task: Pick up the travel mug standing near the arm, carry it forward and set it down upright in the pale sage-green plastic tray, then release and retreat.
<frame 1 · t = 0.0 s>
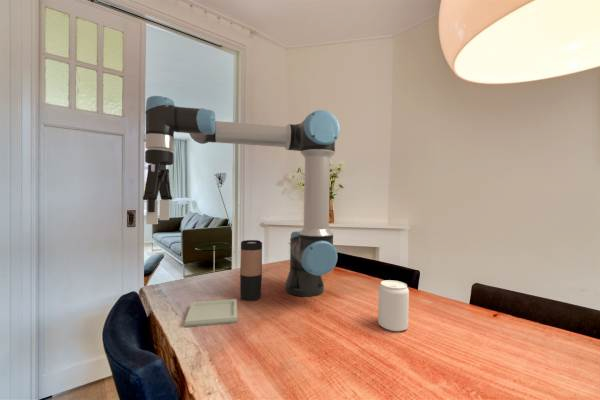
hand: (158, 222, 81), 28 cm above the table, fingers open, 13 cm apart
beverage can: (392, 326, 77), on the table
travel mug: (250, 297, 97), on the table
tray: (213, 314, 83), on the table
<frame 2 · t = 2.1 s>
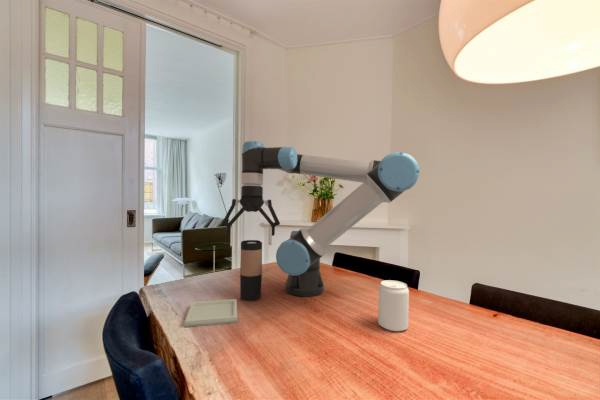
hand: (250, 245, 97), 19 cm above the table, fingers open, 13 cm apart
nothing on the table moved.
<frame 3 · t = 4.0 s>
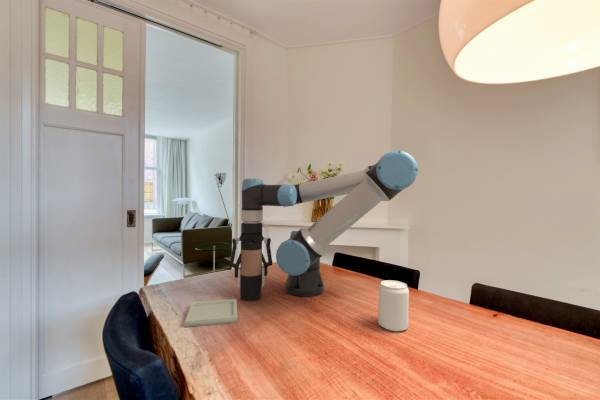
hand: (250, 285, 97), 4 cm above the table, fingers closed on travel mug, 8 cm apart
travel mug: (250, 297, 97), on the table, touching gripper
everything else where it was.
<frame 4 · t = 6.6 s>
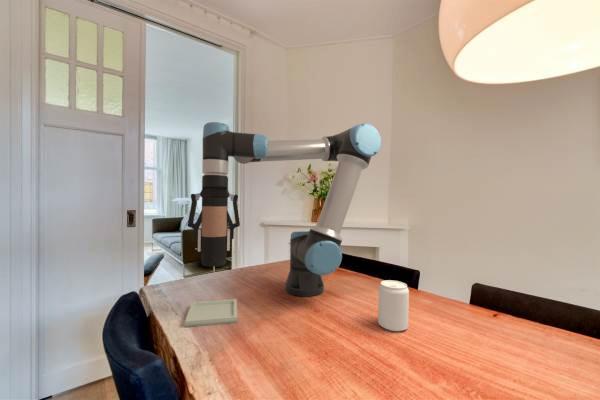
hand: (214, 250, 83), 20 cm above the table, fingers closed on travel mug, 8 cm apart
travel mug: (213, 264, 83), point 15 cm above the table, touching gripper
everything else where it was.
when the fingers open (6 cm above the table, at t = 9.3 s): travel mug drops 1 cm, resting on tray.
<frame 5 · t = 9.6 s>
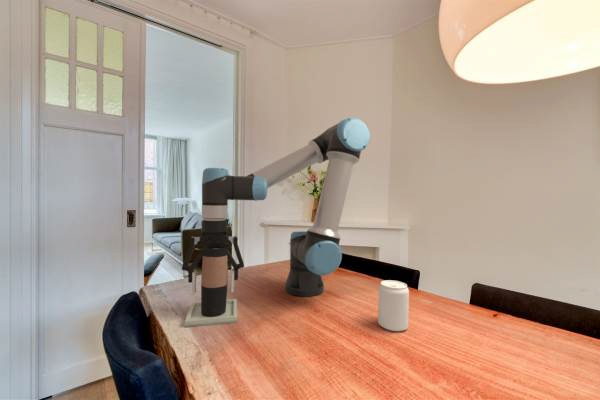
hand: (213, 291, 83), 7 cm above the table, fingers open, 10 cm apart
travel mug: (213, 312, 83), resting on tray
everything else where it was.
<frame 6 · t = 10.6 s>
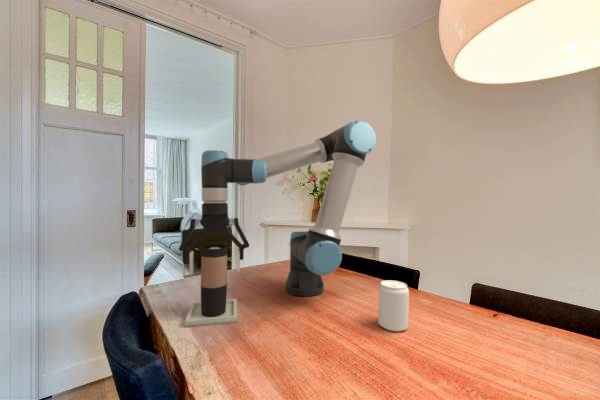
hand: (215, 272, 83), 13 cm above the table, fingers open, 13 cm apart
nothing on the table moved.
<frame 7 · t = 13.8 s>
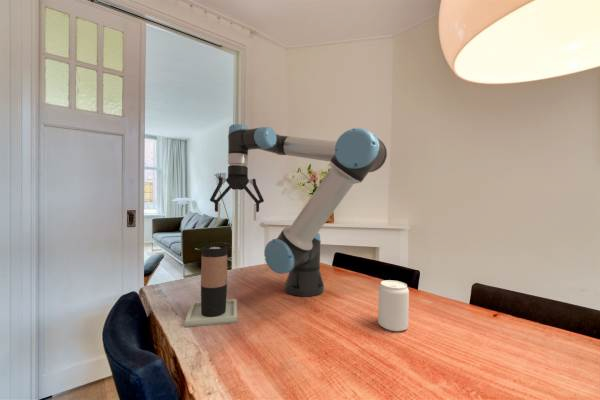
hand: (237, 220, 106), 27 cm above the table, fingers open, 13 cm apart
nothing on the table moved.
at the end: travel mug inside the target area on the tray (0.1 cm from its centre), point 0.4 cm above the tray's base; travel mug tilted 0°; the gripper is holding nothing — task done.
